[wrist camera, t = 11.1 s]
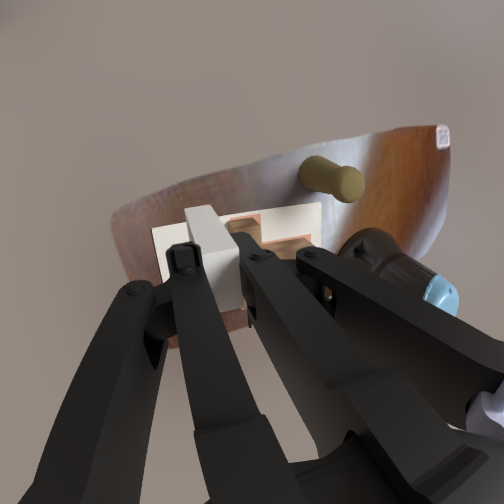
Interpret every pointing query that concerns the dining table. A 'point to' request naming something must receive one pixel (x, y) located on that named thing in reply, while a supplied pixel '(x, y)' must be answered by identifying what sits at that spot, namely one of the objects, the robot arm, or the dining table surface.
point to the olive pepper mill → (332, 179)
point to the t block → (281, 248)
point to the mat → (271, 220)
